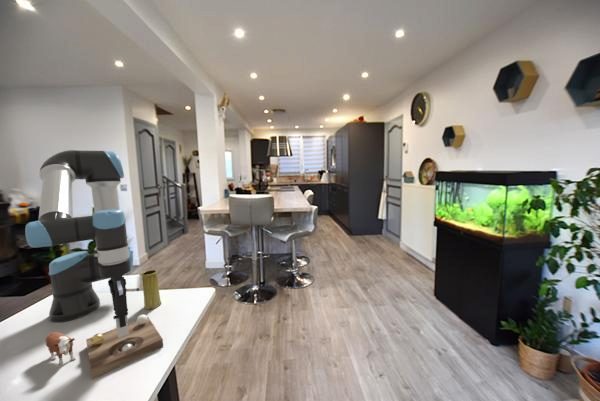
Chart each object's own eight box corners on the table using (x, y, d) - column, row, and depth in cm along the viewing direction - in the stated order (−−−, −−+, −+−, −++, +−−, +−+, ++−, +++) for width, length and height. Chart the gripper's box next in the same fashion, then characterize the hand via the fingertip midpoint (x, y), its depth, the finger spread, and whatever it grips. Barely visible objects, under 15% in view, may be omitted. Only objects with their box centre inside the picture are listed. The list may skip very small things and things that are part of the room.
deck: (87, 346, 78) (86, 339, 77) (148, 323, 89) (147, 316, 89) (92, 379, 65) (91, 370, 65) (163, 346, 77) (162, 338, 76)
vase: (151, 301, 105) (148, 269, 104) (164, 301, 104) (161, 269, 103) (140, 309, 99) (136, 275, 98) (154, 309, 98) (150, 275, 97)
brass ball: (91, 344, 75) (89, 334, 75) (104, 339, 77) (103, 329, 77) (91, 349, 73) (90, 339, 72) (105, 344, 75) (104, 334, 75)
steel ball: (119, 345, 73) (121, 349, 71) (132, 339, 76) (134, 343, 73) (120, 355, 73) (122, 360, 71) (133, 349, 76) (135, 354, 73)
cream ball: (136, 324, 85) (134, 315, 84) (146, 320, 87) (145, 311, 87) (138, 328, 82) (137, 319, 82) (149, 323, 85) (148, 315, 84)
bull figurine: (60, 374, 67) (56, 346, 66) (45, 356, 74) (41, 331, 73) (81, 363, 71) (77, 336, 70) (65, 347, 78) (61, 323, 77)
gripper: (96, 259, 76) (105, 331, 79) (101, 270, 67) (111, 351, 69) (125, 253, 81) (133, 321, 84) (133, 262, 72) (142, 338, 74)
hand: (123, 334), depth 76 cm, fingers closed
